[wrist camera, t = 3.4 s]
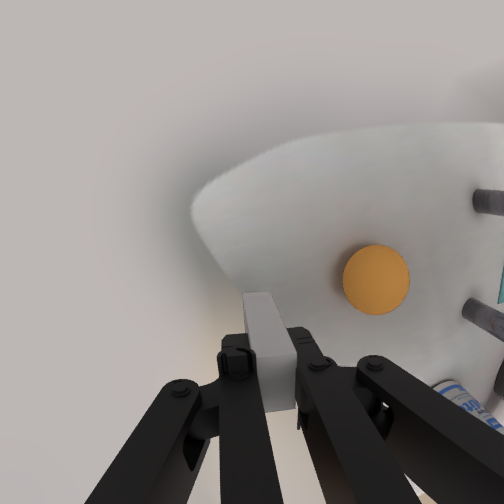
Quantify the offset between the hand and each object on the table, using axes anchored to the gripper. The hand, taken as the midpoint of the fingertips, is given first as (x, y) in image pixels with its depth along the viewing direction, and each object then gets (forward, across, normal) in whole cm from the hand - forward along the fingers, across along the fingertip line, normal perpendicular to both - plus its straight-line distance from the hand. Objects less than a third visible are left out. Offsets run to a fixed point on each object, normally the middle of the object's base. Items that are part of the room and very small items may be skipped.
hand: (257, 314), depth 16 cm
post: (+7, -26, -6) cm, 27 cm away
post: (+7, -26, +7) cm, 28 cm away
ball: (+4, -10, 0) cm, 11 cm away
